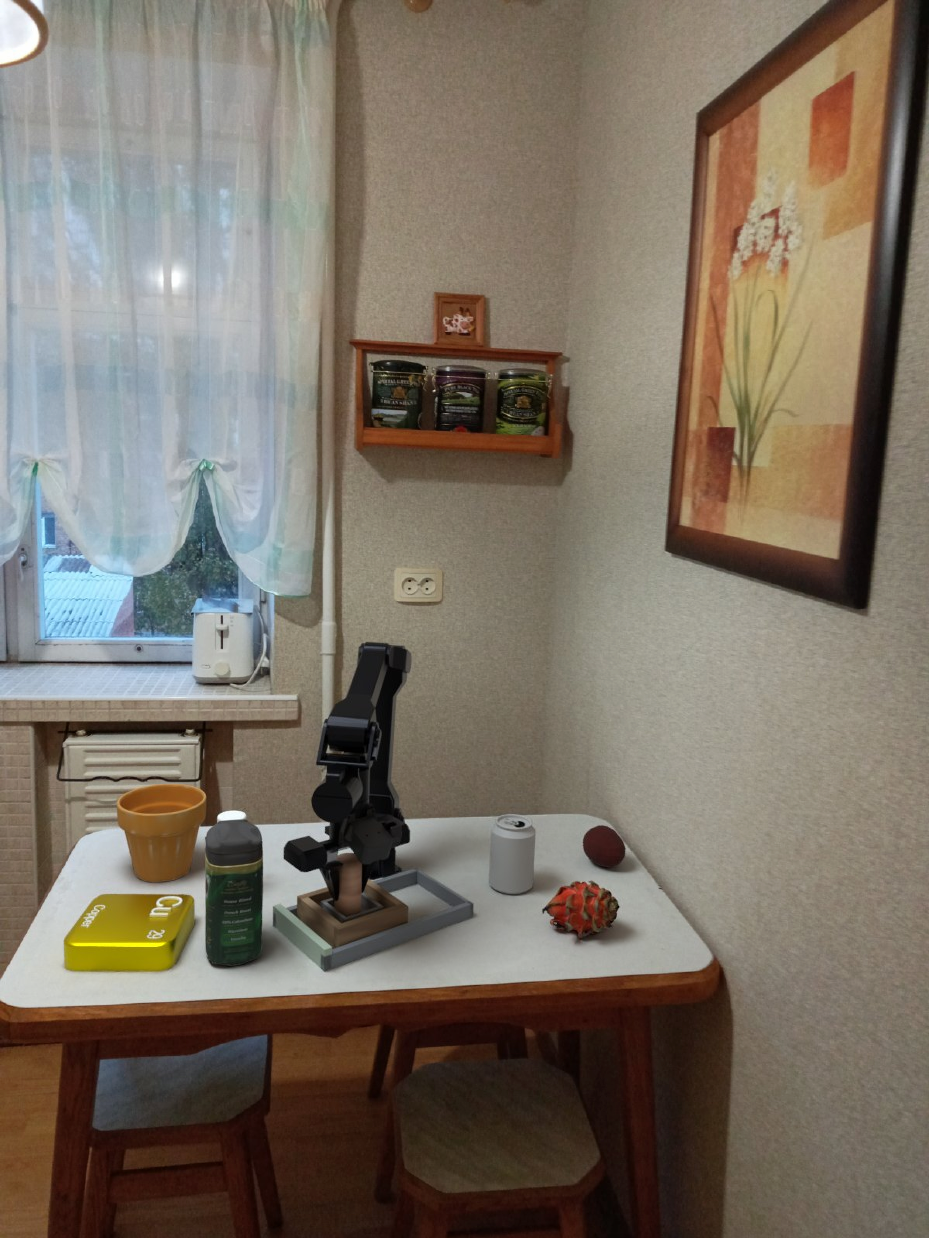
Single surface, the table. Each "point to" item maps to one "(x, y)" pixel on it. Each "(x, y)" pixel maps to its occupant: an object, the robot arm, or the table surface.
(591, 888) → the dragon fruit
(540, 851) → the table surface
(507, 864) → the can
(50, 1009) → the table surface
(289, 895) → the table surface
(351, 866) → the handle peg
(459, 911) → the bay
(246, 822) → the green labelled bottle
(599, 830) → the passion fruit
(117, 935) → the element tile
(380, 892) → the crate
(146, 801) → the flower pot
